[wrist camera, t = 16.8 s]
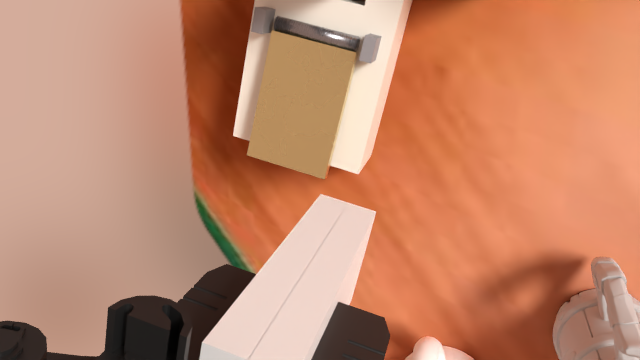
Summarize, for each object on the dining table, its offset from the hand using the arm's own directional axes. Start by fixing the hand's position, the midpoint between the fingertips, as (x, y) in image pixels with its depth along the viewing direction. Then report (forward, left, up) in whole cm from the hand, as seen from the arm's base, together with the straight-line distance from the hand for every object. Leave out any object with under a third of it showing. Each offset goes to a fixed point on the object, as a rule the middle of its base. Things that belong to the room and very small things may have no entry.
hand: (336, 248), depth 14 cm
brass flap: (+3, -8, -24) cm, 25 cm away
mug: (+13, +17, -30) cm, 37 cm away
